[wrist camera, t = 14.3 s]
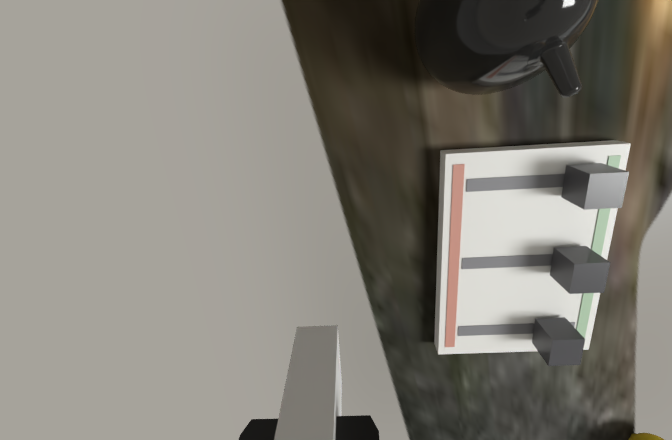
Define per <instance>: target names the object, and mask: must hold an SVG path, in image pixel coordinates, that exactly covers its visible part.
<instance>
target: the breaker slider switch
mask: <svg viewBox="0 0 672 440" xmlns="http://www.w3.org/2000/svg"><path fill="white" fill-rule="evenodd" d="M532 343H533V345H534V346H535V348H536V349H537V350H538V352H539V353H540V355H541V356H542V357H543V359H544V360H545V362H546V363H547V365H548V366H560V365H580V363H581V358H582V353H583V348H584V343H585V338H584V337H583V336H582V335H581V334H580V333H579V332H578V331H577V330H576V329H575V328H574V327H573V325H572V324H571V323H570V322H569V321H568V320H567V319H566V318H565V317H561V318H535V323H534V330H533V338H532Z"/></svg>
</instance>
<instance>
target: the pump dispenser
mask: <svg viewBox="0 0 672 440" xmlns="http://www.w3.org/2000/svg"><path fill="white" fill-rule="evenodd" d="M597 3H598V0H420V1H419V4H418V8H417V12H416V17H415V41H416V47H417V50H418V54H419V56H420V59H421V61H422V63H423V65H424V67H425V68H426V70H427V71H428V72H429V74H430V75H431V76H432V77H433V78H434V79H435V80H436V81H437V82H439V83H440V84H441V85H443V86H445V87H446V88H448V89H451V90H453V91H456V92H459V93H464V94H472V95H482V94H491V93H495V92H499V91H503V90H506V89H510V88H512V87H515V86H518V85H520V84H522V83H524V82H526V81H528V80H530V79H532V78H534V77H536V76H537V75H539V74H540V73H542V72H543V71H545V70H546V71H547V73H548V74H549V76H550V78H551V80H552V82H553V83H554V85H555V87H556V89H557V90H558V92H559V94H560V95H561V96H562V97H570V96H573V95H575V94H577V93H578V92H579V91H580V90H581V89H582V83H581V81H580V78H579V75H578V72H577V69H576V66H575V63H574V60H573V58H572V55H571V52H570V48H571V46H572V45H573V44H574V43H575V42H576V41H577V39H578V38H579V37H580V36H581V34H582V33H583V32H584V30H585V29H586V27H587V26H588V24H589V22H590V20H591V18H592V16H593V14H594V12H595V9H596V6H597Z"/></svg>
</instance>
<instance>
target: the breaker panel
mask: <svg viewBox="0 0 672 440" xmlns="http://www.w3.org/2000/svg"><path fill="white" fill-rule="evenodd" d="M630 145H631V143H626V142H622V141H617V140H609V141H592V142H574V143H557V144H540V145H522V146H505V147H488V148H470V149H453V150H440V181H439V212H438V243H437V273H436V304H435V335H434V343H435V346H436V349H437V352H438V354H464V353H495V352H527V351H538V350H537V349H536V348H535V346H534V345H533V343H532V338H533V330H534V323H535V318H561V317H565V318H566V319H567V320H568V321H569V322H570V323H571V324H572V325H573V327H574V328H575V329H576V330H577V331H578V332H579V333H580V334H581V335H582V336H583V337H584V338H585V343H584V348H583V350H589V345H590V340H591V335H592V331H593V326H594V321H595V316H596V311H597V306H598V301H599V296H600V293H580V294H569V293H568V292H567V291H566V290H565V289H564V288H563V287H562V286H561V285H560V284H559V283H557V282H556V281H555V280H554V279H553V278H552V277H551V276H550V270H551V263H552V257H553V250H554V247H573V246H587V247H588V248H590V249H591V250H593V251H594V252H596V253H597V254H599V255H600V256H602V257H603V258H604V259H606V260H607V257H608V252H609V247H610V243H611V238H612V233H613V228H614V223H615V218H616V213H617V208H606V209H586V210H584V209H582V208H580V207H578V206H576V205H575V204H573V203H571V202H569V201H567V200H565V199H563V198H562V197H561V196H562V190H563V183H564V176H565V169H566V165H573V164H592V163H603V164H606V165H609V166H612V167H615V168H618V169H622V170H625V169H626V164H627V159H628V155H629V150H630Z"/></svg>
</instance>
